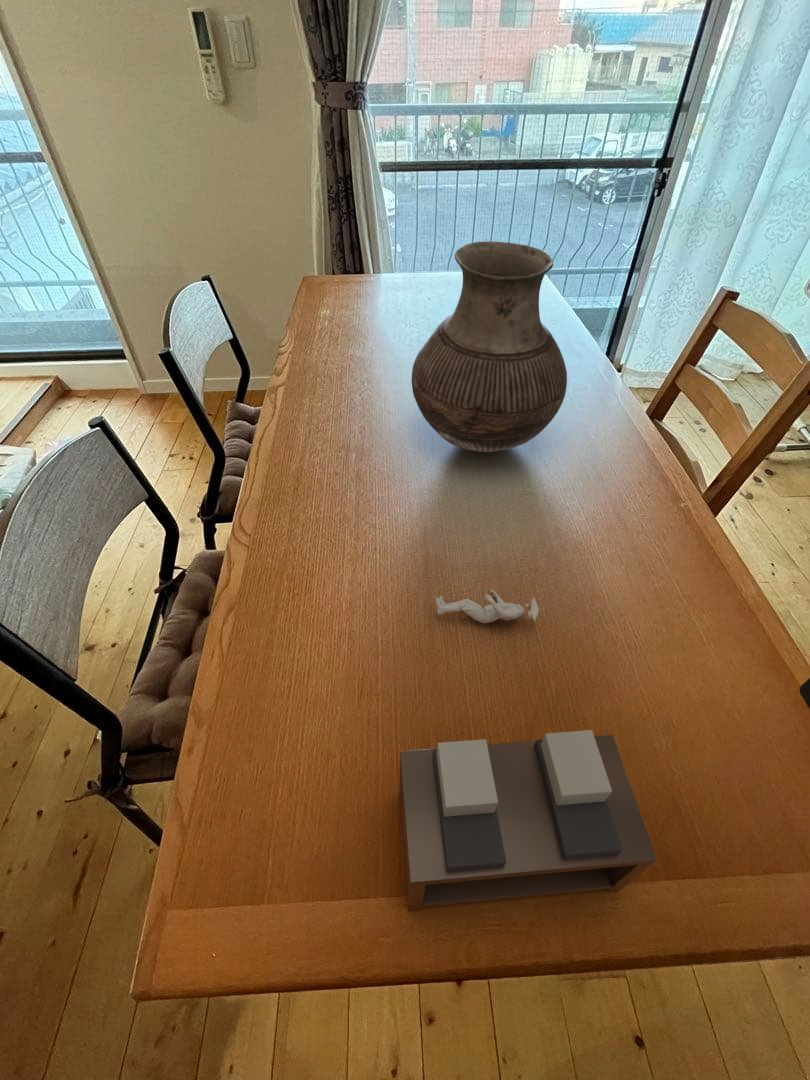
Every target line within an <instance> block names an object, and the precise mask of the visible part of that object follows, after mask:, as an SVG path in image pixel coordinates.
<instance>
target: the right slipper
mask: <svg viewBox="0 0 810 1080" xmlns="http://www.w3.org/2000/svg"><path fill="white" fill-rule="evenodd" d="M594 736H595V735H594V732H593V730H592V729H588V730H573V731H562V732H548V733H544V736H543V738H537V739H535V741H536V742H535V745H534V746H535V750H536V754H537V758H538V762H539V766H540V770H541V774H542V778H543V782H544V786H545V790H546V794H547V798H548V802H549V806H550V810H551V814H552V818H553V822H554V826H555V830H556V834H557V838H558V842H559V846H560V850H561V854H562V858H563V859H574V858H585V857H596V856H607V855H618V854H619V853H620V852H621V851H622V846H621V843H620V840H619V837H618V834H617V831H616V828H615V824H614V821H613V818H612V815H611V812H610V809H609V806H608V803H607V800H606V799H607V798H608V796H609V795H610V794H611V792H612V789H611V786H610V783H609V780H608V777H607V774H606V771H605V768H604V765H603V762H602V759H601V756H600V753H599V750H598V747H597V744H596V741H595V738H594Z"/></svg>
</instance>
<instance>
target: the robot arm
mask: <svg viewBox="0 0 810 1080" xmlns="http://www.w3.org/2000/svg"><path fill="white" fill-rule="evenodd" d="M799 694H800V696H801V697H802V699H803V701H804V702H805V705H806V706H807V708H808V709H809V710H810V677H809V678H808V679H806V681H805V682H803V683H802V684H801V685H800V687H799Z"/></svg>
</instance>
